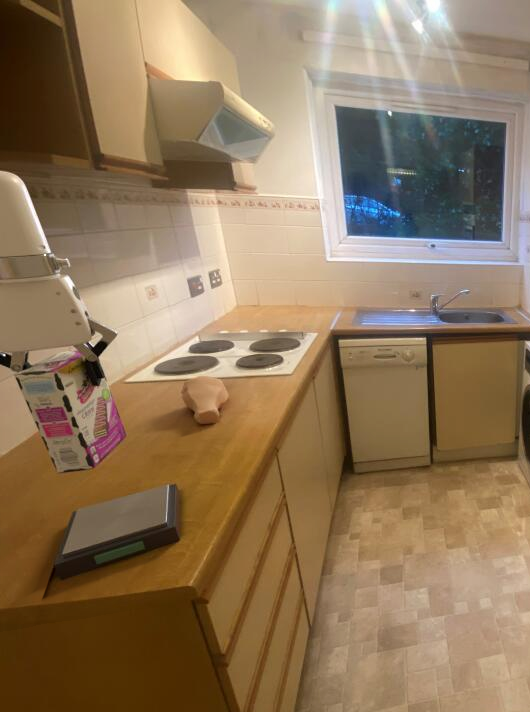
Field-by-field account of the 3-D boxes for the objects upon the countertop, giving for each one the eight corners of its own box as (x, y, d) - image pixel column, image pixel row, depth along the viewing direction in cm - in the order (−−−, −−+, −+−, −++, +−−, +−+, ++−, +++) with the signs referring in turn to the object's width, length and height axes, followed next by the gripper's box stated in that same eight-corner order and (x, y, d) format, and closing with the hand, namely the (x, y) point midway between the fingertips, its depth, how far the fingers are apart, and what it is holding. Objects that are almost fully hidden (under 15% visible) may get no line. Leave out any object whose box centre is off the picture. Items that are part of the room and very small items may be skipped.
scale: (60, 582, 67) (52, 567, 65) (78, 525, 78) (72, 511, 77) (179, 542, 74) (174, 528, 73) (180, 495, 86) (176, 483, 85)
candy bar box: (97, 469, 67) (55, 370, 61) (56, 475, 66) (9, 374, 59) (130, 435, 77) (96, 347, 71) (95, 440, 75) (58, 350, 69)
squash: (226, 395, 131) (225, 368, 128) (234, 429, 118) (234, 399, 114) (181, 398, 125) (179, 370, 121) (185, 434, 111) (182, 403, 108)
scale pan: (63, 558, 67) (61, 554, 67) (79, 512, 77) (77, 508, 77) (167, 525, 74) (166, 521, 74) (169, 487, 84) (168, 484, 83)
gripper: (104, 261, 67) (141, 370, 74) (-65, 270, 58) (-5, 392, 65) (97, 267, 62) (138, 384, 69) (-92, 277, 52) (-22, 411, 59)
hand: (68, 387), depth 67 cm, fingers closed on candy bar box, 6 cm apart
